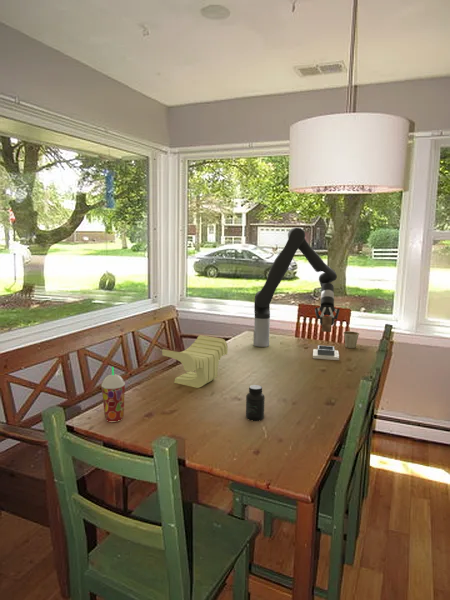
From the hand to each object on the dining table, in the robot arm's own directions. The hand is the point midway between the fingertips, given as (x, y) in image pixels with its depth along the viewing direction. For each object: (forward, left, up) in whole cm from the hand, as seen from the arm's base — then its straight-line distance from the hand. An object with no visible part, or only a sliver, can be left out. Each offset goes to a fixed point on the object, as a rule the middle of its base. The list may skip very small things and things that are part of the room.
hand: (326, 324), depth 239 cm
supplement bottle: (-27, -89, -19) cm, 94 cm away
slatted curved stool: (-59, -56, -19) cm, 83 cm away
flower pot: (+15, +24, -19) cm, 34 cm away
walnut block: (0, +2, -4) cm, 5 cm away
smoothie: (-77, -103, -19) cm, 129 cm away
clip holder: (0, +1, -18) cm, 18 cm away
